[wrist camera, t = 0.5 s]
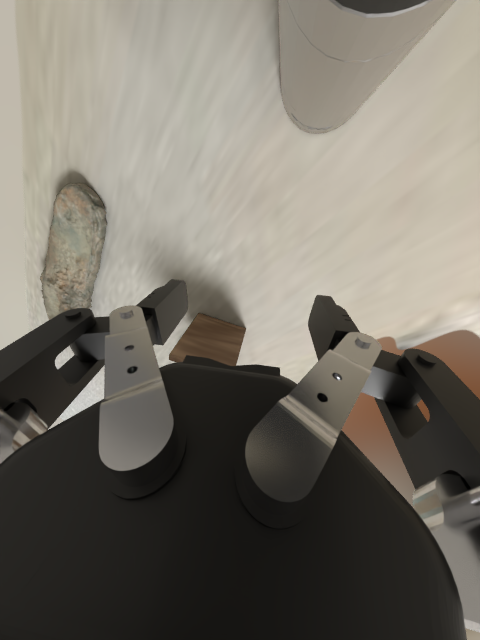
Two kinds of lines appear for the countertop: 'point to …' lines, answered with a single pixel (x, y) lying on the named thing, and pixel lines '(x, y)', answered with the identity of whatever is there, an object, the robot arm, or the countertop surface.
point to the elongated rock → (73, 249)
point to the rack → (210, 341)
